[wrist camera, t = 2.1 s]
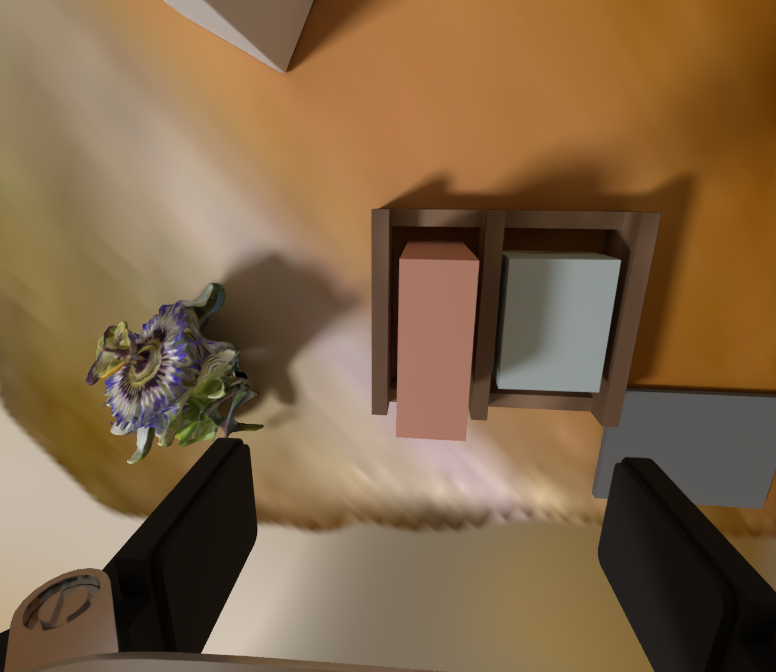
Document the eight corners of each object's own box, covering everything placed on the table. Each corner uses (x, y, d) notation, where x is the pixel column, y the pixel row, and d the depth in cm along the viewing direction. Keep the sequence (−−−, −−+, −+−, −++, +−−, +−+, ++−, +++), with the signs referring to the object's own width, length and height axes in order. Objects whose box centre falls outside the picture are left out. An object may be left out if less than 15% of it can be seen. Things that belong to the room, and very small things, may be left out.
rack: (627, 211, 26) (661, 212, 23) (594, 398, 30) (618, 427, 26) (379, 208, 28) (371, 209, 24) (378, 388, 32) (371, 414, 28)
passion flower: (220, 305, 36) (180, 239, 25) (310, 391, 36) (311, 364, 25) (107, 399, 33) (1, 373, 22) (205, 497, 32) (150, 522, 21)
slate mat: (792, 394, 29) (799, 398, 28) (756, 503, 32) (762, 508, 31) (611, 387, 30) (615, 390, 29) (591, 492, 33) (594, 497, 32)
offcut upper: (603, 254, 25) (621, 259, 23) (584, 376, 28) (598, 392, 25) (502, 253, 26) (509, 258, 24) (492, 373, 28) (498, 388, 26)
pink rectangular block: (461, 240, 28) (479, 260, 18) (453, 366, 31) (465, 441, 21) (408, 240, 28) (399, 258, 19) (405, 364, 31) (396, 437, 21)
